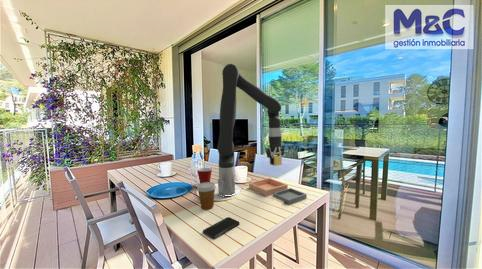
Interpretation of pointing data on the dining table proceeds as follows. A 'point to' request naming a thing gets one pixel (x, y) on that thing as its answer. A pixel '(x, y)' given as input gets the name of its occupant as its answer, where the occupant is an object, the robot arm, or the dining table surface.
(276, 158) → the ochre cube
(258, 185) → the terracotta dish
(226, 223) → the phone
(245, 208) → the dining table surface
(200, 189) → the disposable coffee cup
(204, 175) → the plastic cup
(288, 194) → the charcoal tray
